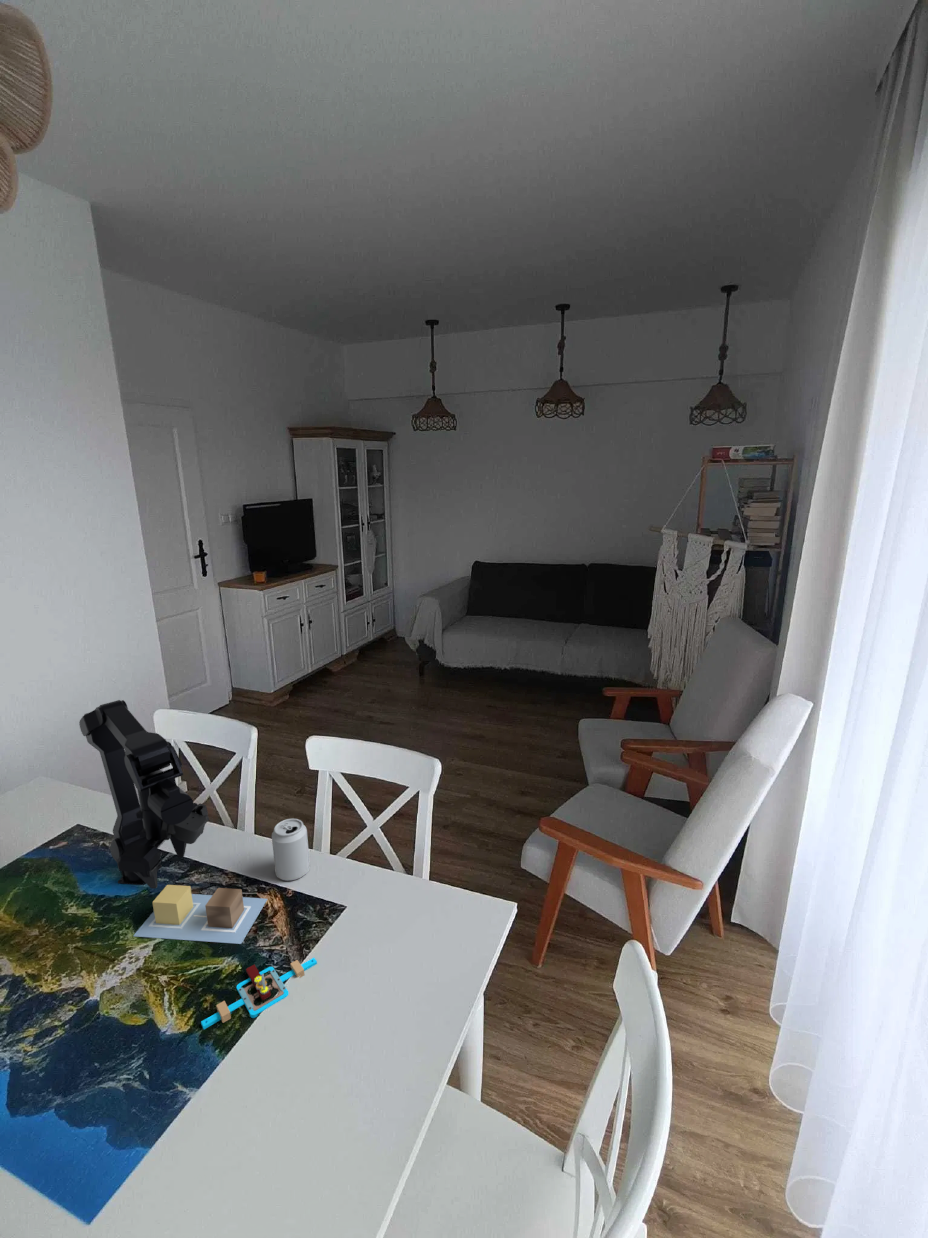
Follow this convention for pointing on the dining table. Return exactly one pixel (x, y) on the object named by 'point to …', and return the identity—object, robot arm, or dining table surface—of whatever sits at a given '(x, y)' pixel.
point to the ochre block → (173, 904)
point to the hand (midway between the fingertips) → (168, 871)
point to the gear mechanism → (262, 990)
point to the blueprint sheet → (204, 924)
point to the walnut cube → (224, 908)
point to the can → (290, 849)
